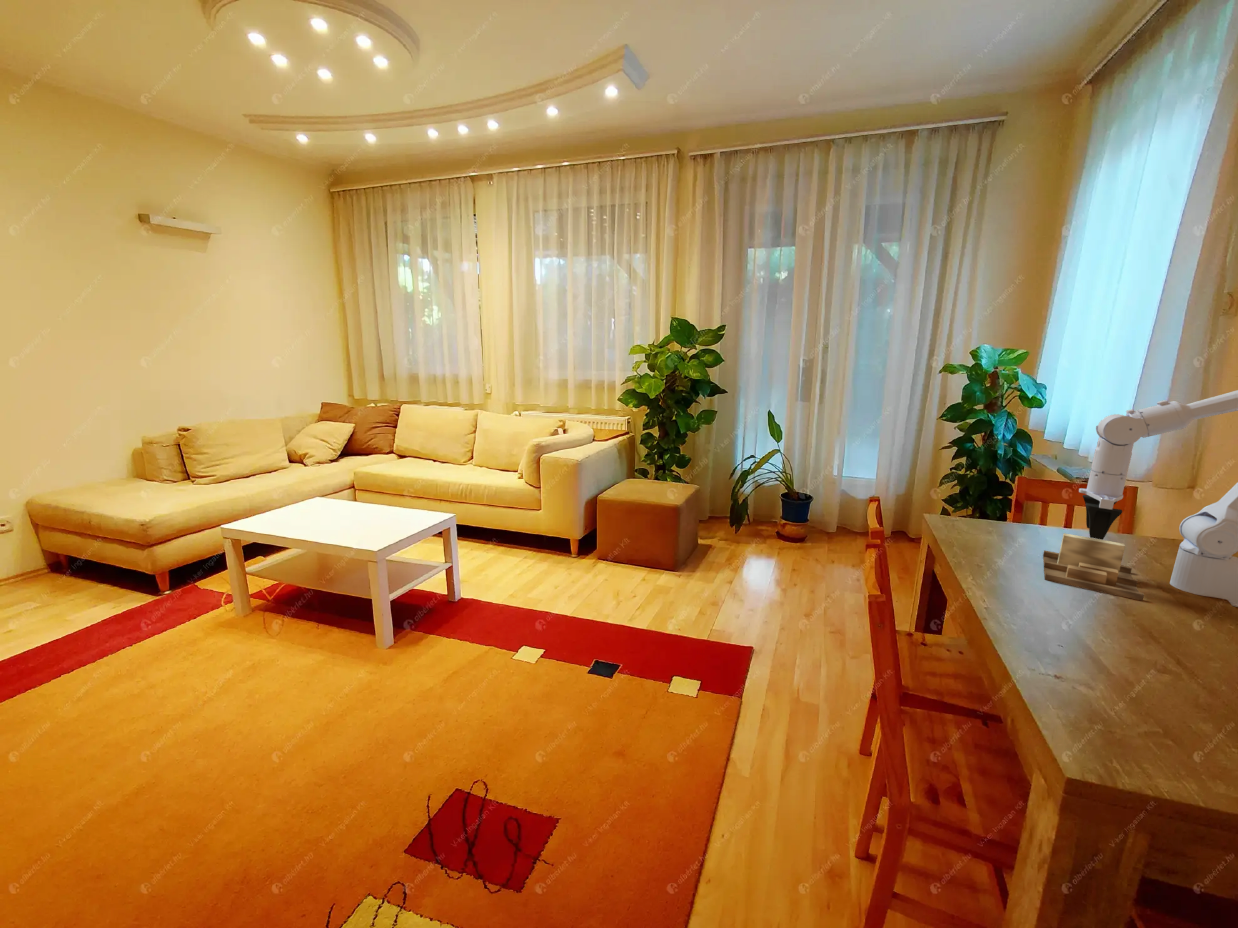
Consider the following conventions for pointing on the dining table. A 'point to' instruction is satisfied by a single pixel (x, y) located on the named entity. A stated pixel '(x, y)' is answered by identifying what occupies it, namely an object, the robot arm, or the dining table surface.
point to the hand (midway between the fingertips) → (1094, 533)
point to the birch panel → (1090, 552)
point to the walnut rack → (1122, 588)
